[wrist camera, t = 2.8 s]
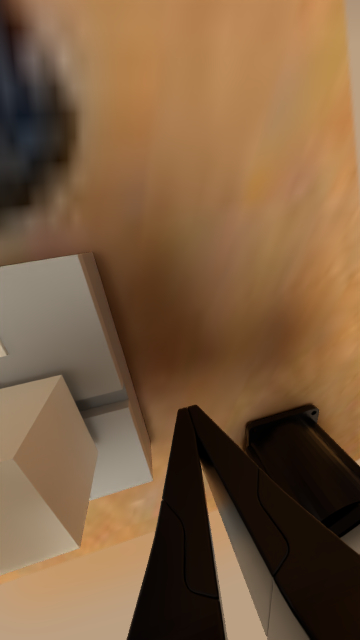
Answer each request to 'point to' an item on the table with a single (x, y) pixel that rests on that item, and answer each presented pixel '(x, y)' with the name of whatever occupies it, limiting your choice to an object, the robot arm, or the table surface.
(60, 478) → the fader cap
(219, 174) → the table surface
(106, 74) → the table surface
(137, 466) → the console board
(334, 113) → the table surface
